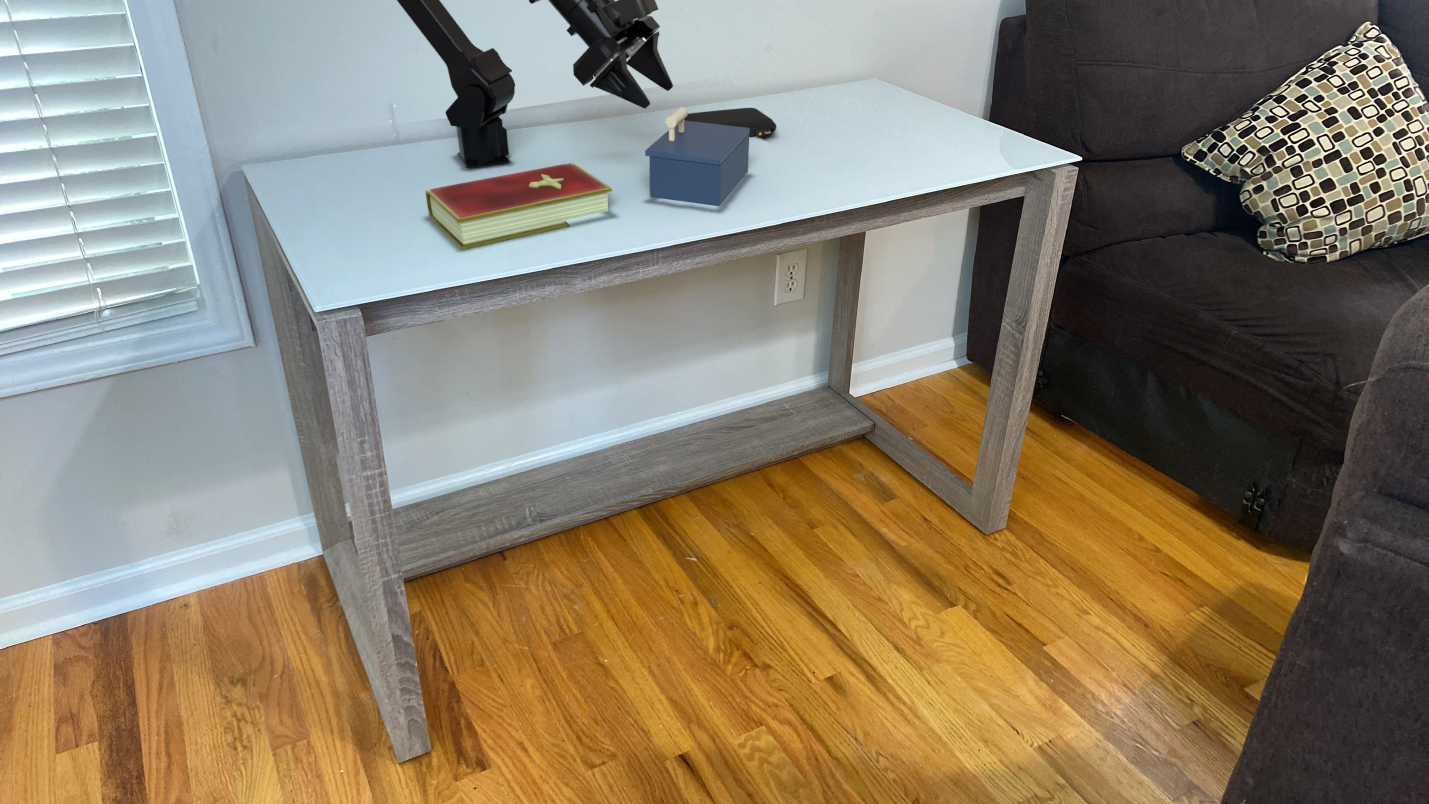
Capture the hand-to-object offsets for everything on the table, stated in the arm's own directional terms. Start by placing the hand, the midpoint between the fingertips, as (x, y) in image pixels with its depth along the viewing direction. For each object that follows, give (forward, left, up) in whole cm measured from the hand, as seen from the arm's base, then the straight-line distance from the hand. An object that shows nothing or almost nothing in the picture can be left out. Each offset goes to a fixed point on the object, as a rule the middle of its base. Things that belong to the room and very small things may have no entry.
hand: (659, 97), depth 133 cm
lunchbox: (+4, -4, -12) cm, 14 cm away
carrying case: (+19, +16, -13) cm, 28 cm away
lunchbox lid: (+4, -4, -6) cm, 8 cm away
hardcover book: (-22, -4, -13) cm, 26 cm away
